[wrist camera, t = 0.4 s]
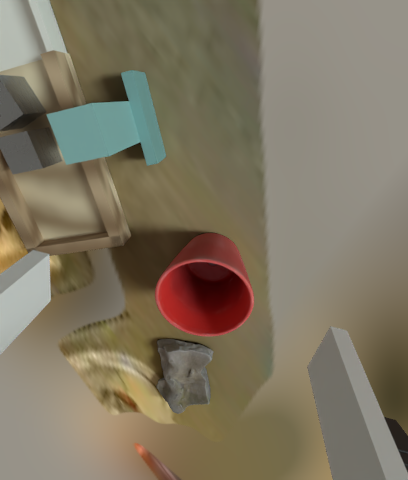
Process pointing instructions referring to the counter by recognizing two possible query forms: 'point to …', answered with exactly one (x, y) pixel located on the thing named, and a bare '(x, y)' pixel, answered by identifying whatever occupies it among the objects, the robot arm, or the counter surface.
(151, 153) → the rake tool
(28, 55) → the tray
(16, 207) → the slot board
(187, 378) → the stone
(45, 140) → the block
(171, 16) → the counter surface
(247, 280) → the flower pot
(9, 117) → the block
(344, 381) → the robot arm
